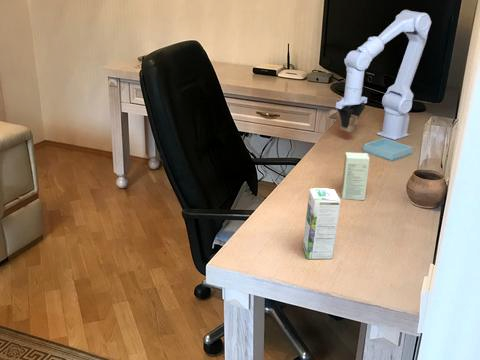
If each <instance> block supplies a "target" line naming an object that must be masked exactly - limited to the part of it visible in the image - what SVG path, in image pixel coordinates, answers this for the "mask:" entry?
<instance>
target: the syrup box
mask: <svg viewBox="0 0 480 360" xmlns="http://www.w3.org/2000/svg"><path fill="white" fill-rule="evenodd" d="M340 208H341V199H340V197H339V194H338V193H337V191H336V190H335V189H333V188H320V187H317V188H310V189H309V193H308V201H307V209H306V216H305V223H304V224H305V225H304V230H303V231H304V232H303V241H302V248H303V250H304V253H305V254H304V255H305V256H306V259H307V260H332V259H333V256H334V251H335V250H334V249H335V244H336V243H335V242H336V235H337V229H338V222H339V215H340Z"/></svg>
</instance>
